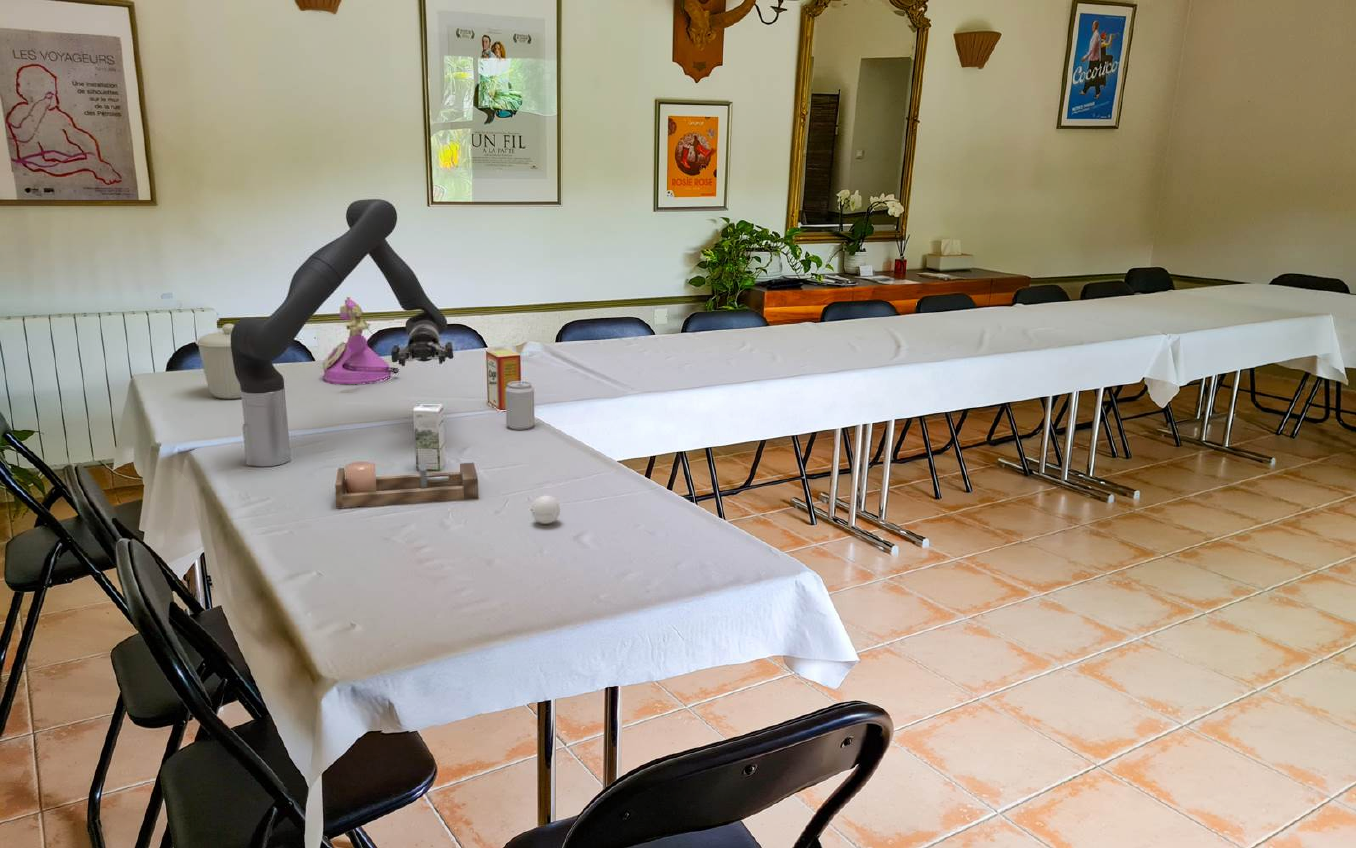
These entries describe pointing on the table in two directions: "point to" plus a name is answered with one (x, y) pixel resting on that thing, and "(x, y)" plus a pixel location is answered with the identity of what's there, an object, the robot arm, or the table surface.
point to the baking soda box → (501, 375)
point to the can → (519, 405)
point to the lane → (463, 478)
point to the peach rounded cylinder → (360, 477)
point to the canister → (219, 363)
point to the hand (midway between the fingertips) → (421, 360)
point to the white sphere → (545, 509)
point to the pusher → (428, 479)
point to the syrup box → (429, 435)
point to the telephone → (355, 354)
